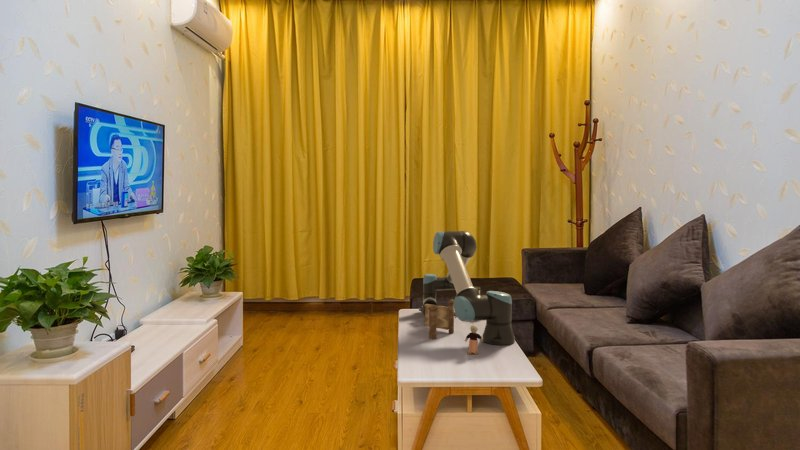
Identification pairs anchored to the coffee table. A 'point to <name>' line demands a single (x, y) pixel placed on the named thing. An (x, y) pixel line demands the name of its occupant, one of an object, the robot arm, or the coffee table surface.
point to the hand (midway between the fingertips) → (431, 315)
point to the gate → (438, 316)
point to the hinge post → (451, 316)
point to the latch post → (432, 322)
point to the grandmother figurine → (473, 340)
